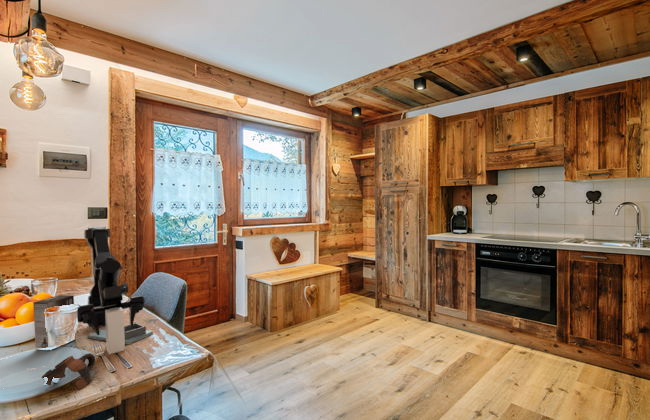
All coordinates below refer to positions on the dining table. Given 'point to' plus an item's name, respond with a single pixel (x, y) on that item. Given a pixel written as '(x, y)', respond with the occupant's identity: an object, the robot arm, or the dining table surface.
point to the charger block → (115, 330)
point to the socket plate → (103, 336)
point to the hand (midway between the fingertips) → (115, 330)
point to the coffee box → (39, 316)
